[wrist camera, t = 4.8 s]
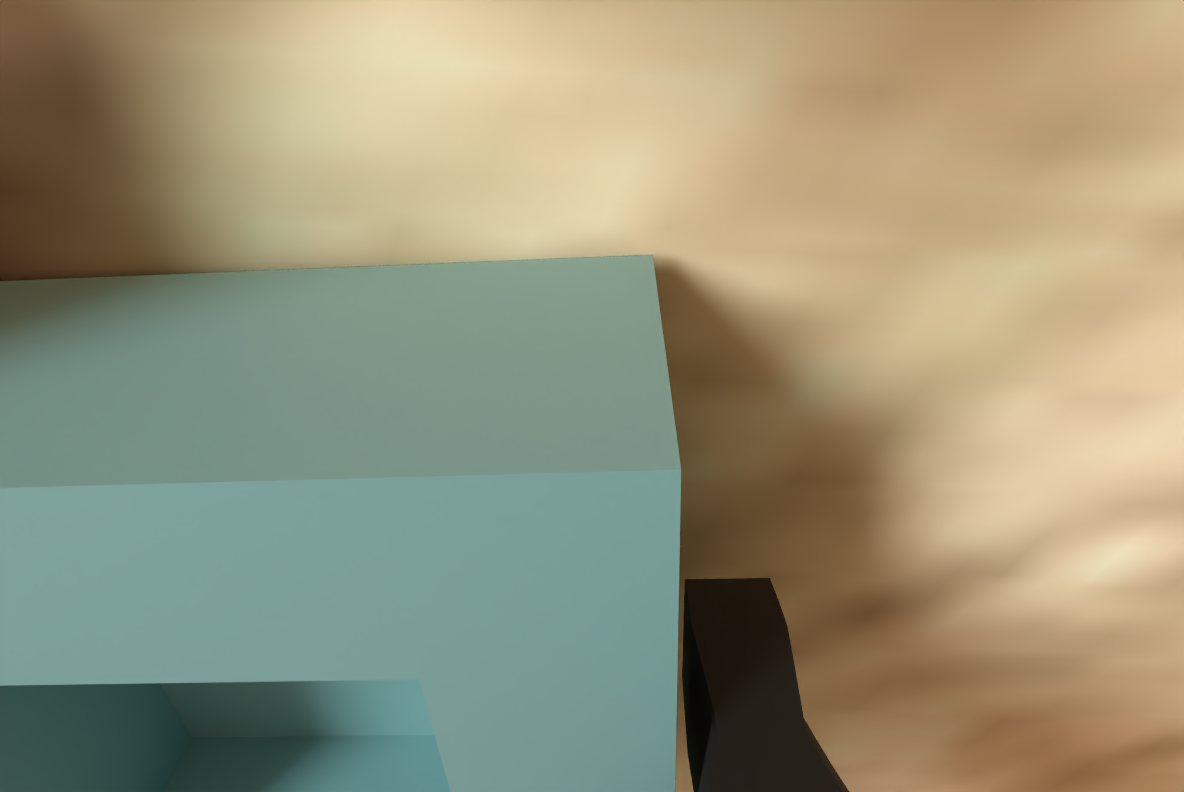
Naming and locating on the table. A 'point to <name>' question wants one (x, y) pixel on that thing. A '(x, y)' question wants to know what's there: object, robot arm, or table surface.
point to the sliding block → (339, 530)
